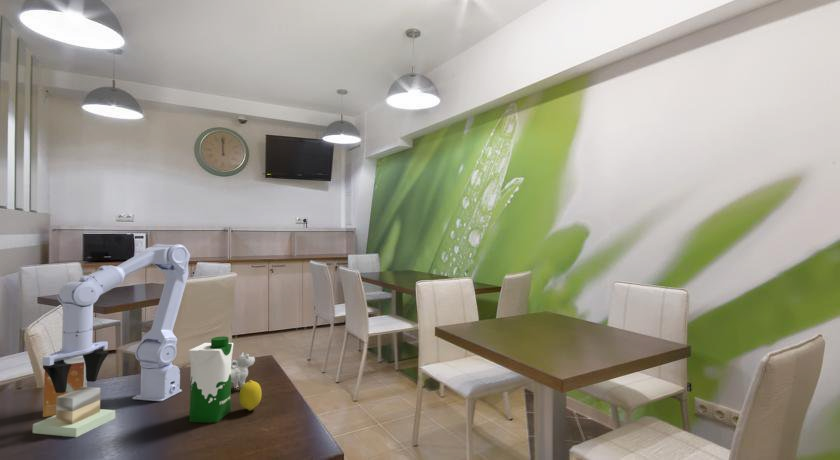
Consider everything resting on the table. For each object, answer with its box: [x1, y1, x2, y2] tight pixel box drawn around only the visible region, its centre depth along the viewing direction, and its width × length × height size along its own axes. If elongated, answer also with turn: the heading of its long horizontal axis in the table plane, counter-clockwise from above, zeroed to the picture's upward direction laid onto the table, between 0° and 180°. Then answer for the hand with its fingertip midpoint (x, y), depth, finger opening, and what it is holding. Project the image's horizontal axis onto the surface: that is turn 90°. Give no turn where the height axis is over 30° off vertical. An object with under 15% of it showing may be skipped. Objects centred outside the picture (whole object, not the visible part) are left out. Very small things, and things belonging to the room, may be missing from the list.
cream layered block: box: [56, 386, 102, 424], centre depth 99 cm, size 4×7×6 cm, turn 171°
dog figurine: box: [231, 352, 256, 389], centre depth 123 cm, size 5×13×11 cm, turn 148°
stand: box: [32, 408, 116, 438], centre depth 99 cm, size 12×10×2 cm
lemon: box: [238, 379, 263, 411], centre depth 108 cm, size 6×6×8 cm
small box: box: [42, 356, 88, 418], centre depth 108 cm, size 8×6×13 cm
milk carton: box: [188, 336, 234, 423], centre depth 105 cm, size 9×9×20 cm
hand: (76, 386), depth 100 cm, fingers open, 7 cm apart
